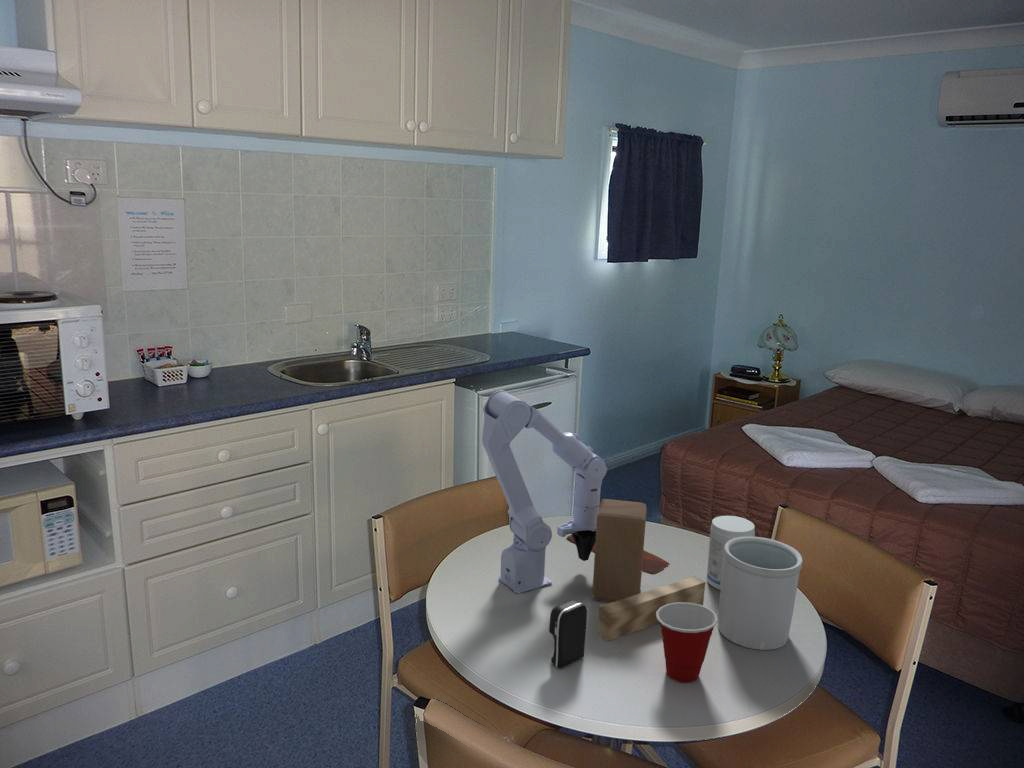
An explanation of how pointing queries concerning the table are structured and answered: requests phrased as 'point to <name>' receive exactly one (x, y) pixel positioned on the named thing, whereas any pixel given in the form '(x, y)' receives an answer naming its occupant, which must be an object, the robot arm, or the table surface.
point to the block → (618, 549)
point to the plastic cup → (685, 638)
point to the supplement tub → (719, 536)
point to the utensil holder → (758, 592)
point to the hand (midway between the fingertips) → (583, 558)
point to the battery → (568, 632)
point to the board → (646, 607)
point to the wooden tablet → (644, 560)
